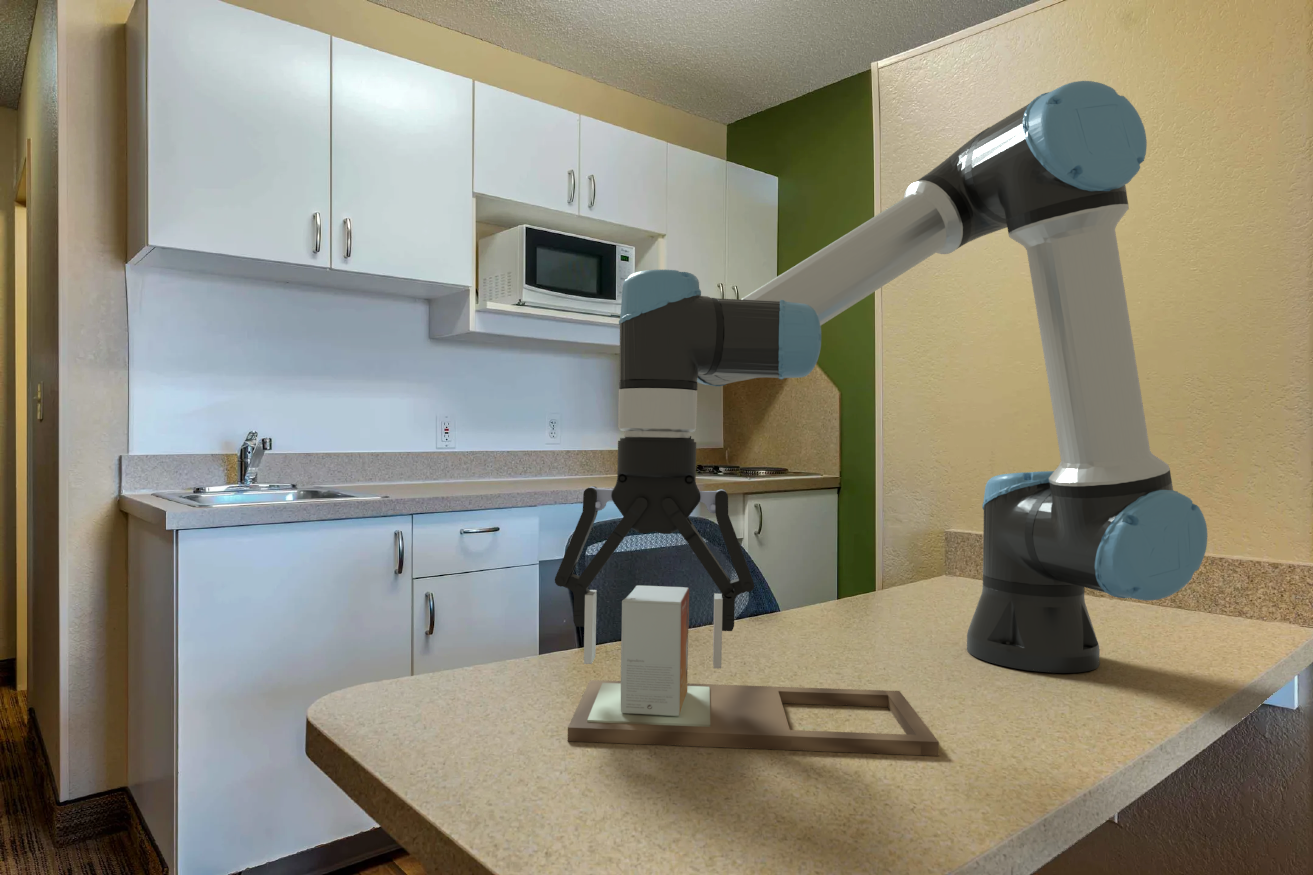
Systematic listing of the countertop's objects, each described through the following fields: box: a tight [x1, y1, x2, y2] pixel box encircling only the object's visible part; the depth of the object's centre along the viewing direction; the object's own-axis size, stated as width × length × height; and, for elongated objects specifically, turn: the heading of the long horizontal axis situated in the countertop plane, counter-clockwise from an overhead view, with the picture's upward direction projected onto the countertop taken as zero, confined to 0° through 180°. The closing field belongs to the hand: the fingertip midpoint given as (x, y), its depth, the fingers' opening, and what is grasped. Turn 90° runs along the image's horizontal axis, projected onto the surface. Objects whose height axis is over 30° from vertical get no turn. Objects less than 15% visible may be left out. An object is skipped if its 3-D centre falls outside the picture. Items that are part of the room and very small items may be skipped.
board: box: [567, 679, 940, 757], centre depth 78 cm, size 32×14×1 cm, turn 87°
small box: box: [620, 585, 690, 716], centre depth 78 cm, size 8×6×10 cm
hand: (653, 662), depth 78 cm, fingers open, 11 cm apart
